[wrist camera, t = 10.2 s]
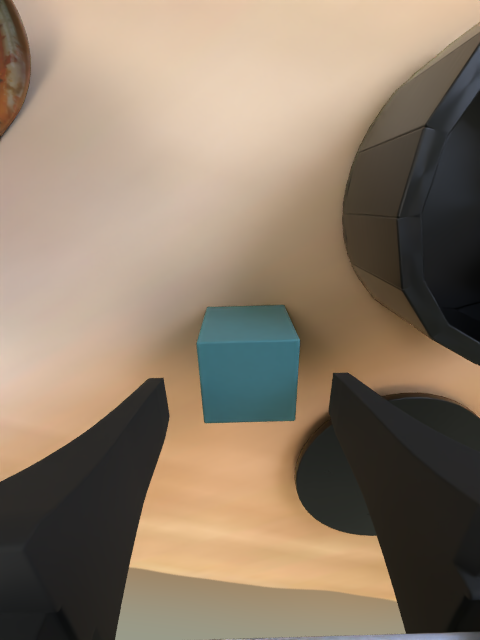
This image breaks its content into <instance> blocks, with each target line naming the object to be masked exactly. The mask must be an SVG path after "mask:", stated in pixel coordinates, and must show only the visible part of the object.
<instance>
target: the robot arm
mask: <svg viewBox="0 0 480 640" xmlns="http://www.w3.org/2000/svg"><path fill="white" fill-rule="evenodd" d="M329 414H330V418H331V421H332V425H333V428H334V431H335V434H336V436H337V438H338V441H339V443H340V445H341V447H342V450H343V452H344V454H345V456H346V458H347V461H348V463H349V465H350V467H351V469H352V471H353V474H354V476H355V478H356V480H357V482H358V485H359V487H360V489H361V492H362V494H363V497H364V499H365V502H366V505H367V508H368V511H369V514H370V517H371V520H372V522H373V525H374V528H375V531H376V535H377V538H378V541H379V544H380V547H381V550H382V553H383V556H384V559H385V563H386V566H387V569H388V572H389V576H390V579H391V582H392V586H393V589H394V592H395V596H396V599H397V603H398V606H399V609H400V613H401V617H402V620H403V624H404V628H405V631H406V634H385V635H351V636H318V637H282V638H250V639H249V638H247V639H214V640H480V452H478V451H476V450H474V449H472V448H470V447H468V446H466V445H463V444H461V443H459V442H457V441H455V440H453V439H451V438H449V437H447V436H445V435H443V434H441V433H439V432H438V431H436V430H434V429H432V428H430V427H428V426H427V425H425V424H423V423H421V422H420V421H418V420H416V419H415V418H413V417H411V416H410V415H408V414H407V413H405V412H403V411H402V410H400V409H399V408H397V407H396V406H394V405H393V404H391V403H390V402H388V401H387V400H385V399H384V398H383V397H381V396H380V395H378V394H377V393H376V392H374V391H373V390H371V389H370V388H369V387H367V386H366V385H365V384H363V383H362V382H361V381H359V380H358V379H356V378H355V377H354V376H352V375H351V374H349V373H333V379H332V388H331V396H330V404H329ZM168 422H169V410H168V403H167V397H166V391H165V385H164V378H149V379H148V380H147V381H145V382H144V383H143V384H142V385H141V386H140V387H139V388H138V389H137V390H136V391H134V392H133V393H132V394H131V395H130V396H129V397H128V398H127V399H125V400H124V401H123V402H122V403H121V404H120V405H119V406H118V407H116V408H115V409H114V410H113V411H112V412H110V413H109V414H108V415H107V416H105V417H104V418H103V419H102V420H100V421H99V422H98V423H97V424H95V425H94V426H93V427H91V428H90V429H89V430H87V431H86V432H85V433H83V434H82V435H80V436H79V437H77V438H76V439H74V440H73V441H71V442H70V443H68V444H67V445H65V446H64V447H62V448H60V449H59V450H57V451H55V452H54V453H52V454H50V455H49V456H47V457H45V458H44V459H42V460H41V461H39V462H37V463H35V464H34V465H32V466H30V467H28V468H26V469H24V470H22V471H21V472H19V473H17V474H15V475H13V476H11V477H9V478H7V479H5V480H3V481H1V482H0V640H115V636H116V630H117V624H118V620H119V614H120V609H121V603H122V598H123V593H124V588H125V583H126V578H127V573H128V569H129V564H130V559H131V555H132V550H133V546H134V541H135V537H136V532H137V528H138V524H139V520H140V516H141V511H142V507H143V503H144V500H145V497H146V493H147V490H148V487H149V484H150V481H151V478H152V476H153V473H154V470H155V467H156V464H157V461H158V458H159V455H160V452H161V449H162V446H163V443H164V440H165V436H166V432H167V427H168ZM212 640H213V639H212Z"/></svg>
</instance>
